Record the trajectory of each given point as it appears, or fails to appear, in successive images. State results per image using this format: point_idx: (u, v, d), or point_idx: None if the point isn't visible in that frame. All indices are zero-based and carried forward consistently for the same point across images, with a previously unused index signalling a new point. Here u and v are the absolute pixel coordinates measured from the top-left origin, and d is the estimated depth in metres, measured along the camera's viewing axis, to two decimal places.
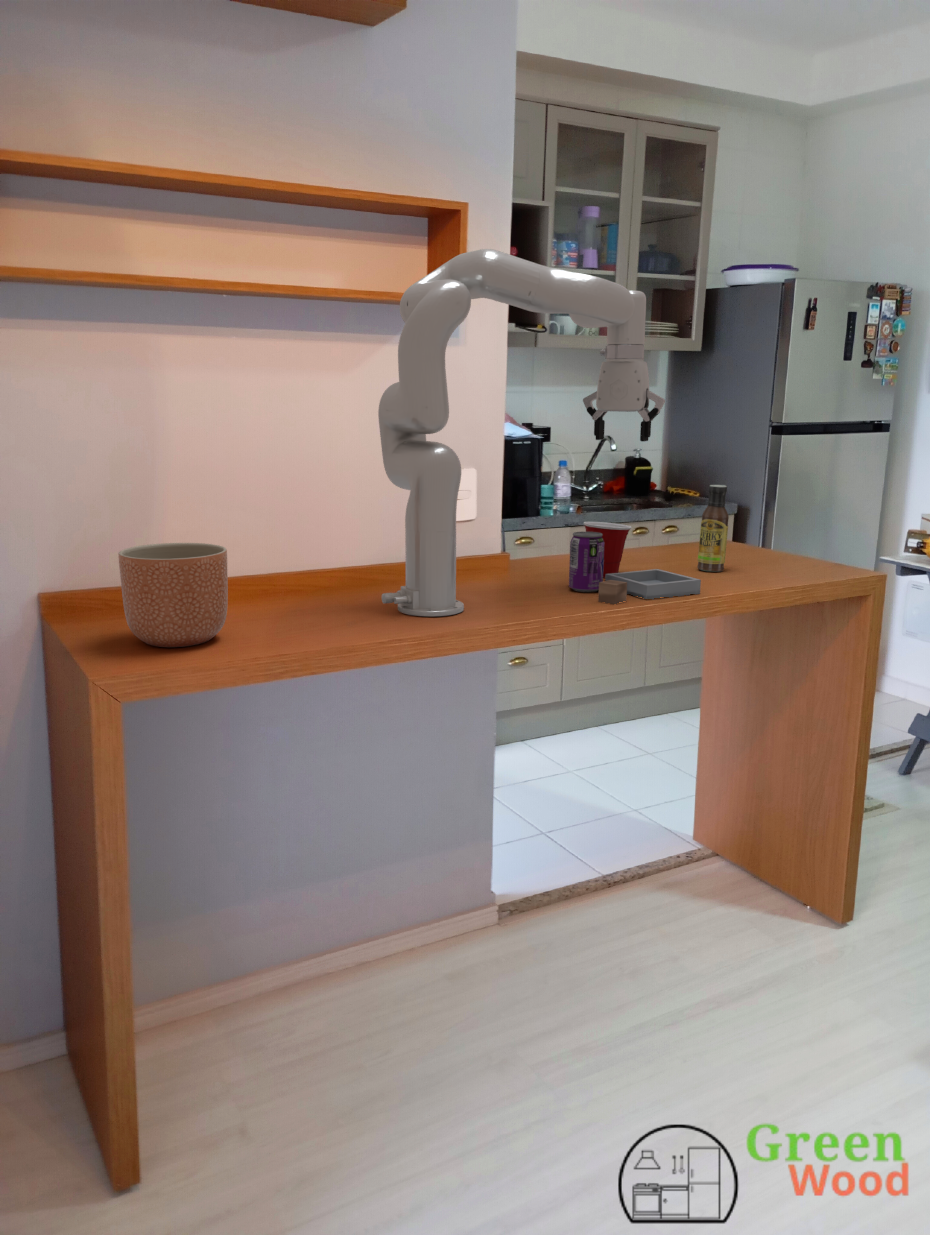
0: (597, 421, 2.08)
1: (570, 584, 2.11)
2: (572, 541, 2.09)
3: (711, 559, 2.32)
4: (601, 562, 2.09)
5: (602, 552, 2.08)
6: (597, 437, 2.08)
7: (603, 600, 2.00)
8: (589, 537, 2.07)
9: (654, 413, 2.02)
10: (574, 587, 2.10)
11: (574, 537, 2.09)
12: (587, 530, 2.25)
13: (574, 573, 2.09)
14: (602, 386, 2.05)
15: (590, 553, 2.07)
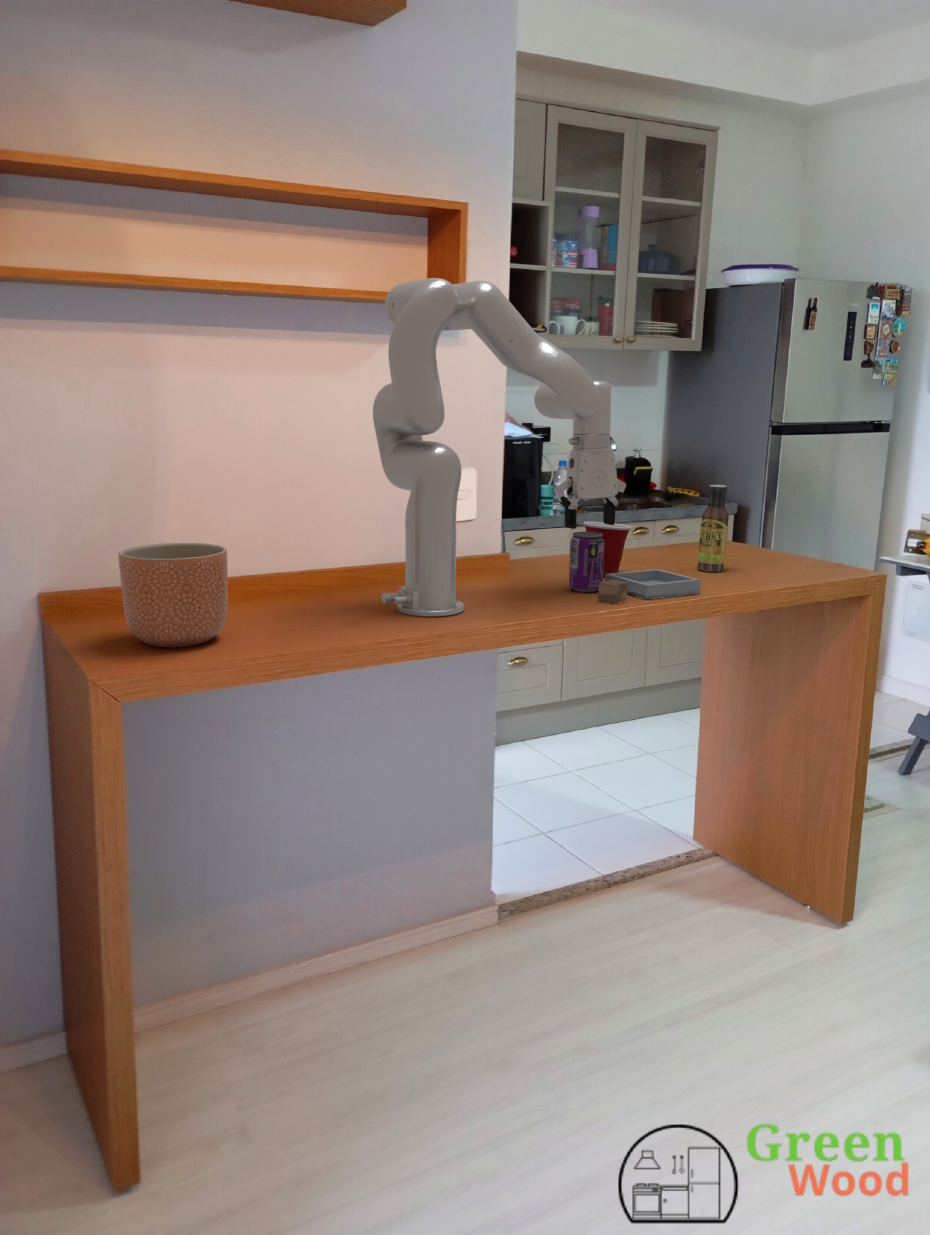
0: (575, 510, 2.05)
1: (570, 584, 2.11)
2: (572, 541, 2.09)
3: (711, 559, 2.32)
4: (601, 562, 2.09)
5: (602, 552, 2.08)
6: (575, 526, 2.06)
7: (603, 600, 2.00)
8: (589, 537, 2.07)
9: (620, 497, 2.11)
10: (574, 587, 2.10)
11: (574, 537, 2.09)
12: (587, 530, 2.25)
13: (574, 573, 2.09)
14: (584, 475, 2.03)
15: (590, 553, 2.07)
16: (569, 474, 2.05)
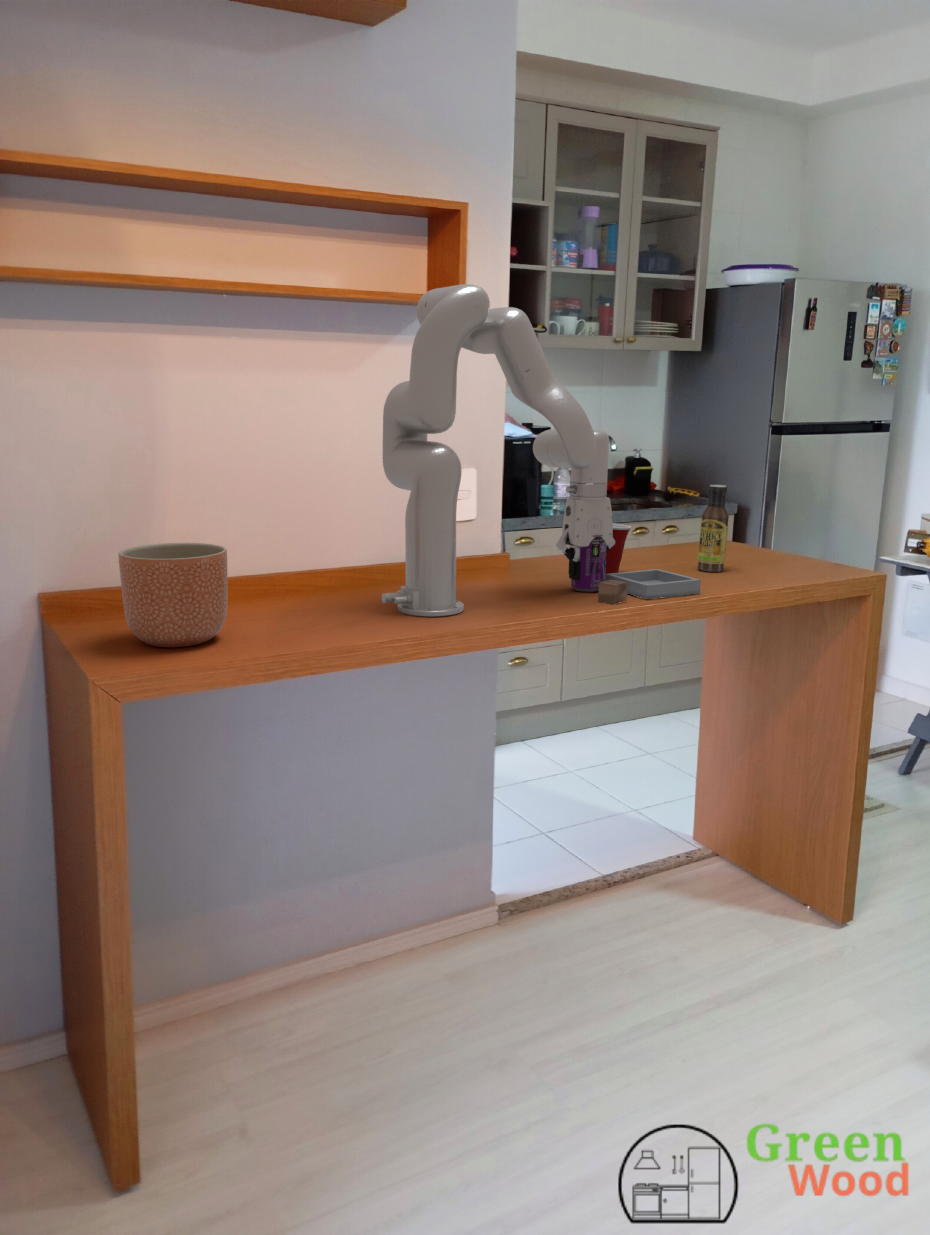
0: (579, 562, 2.08)
1: (572, 584, 2.11)
2: None
3: (711, 559, 2.32)
4: (603, 562, 2.09)
5: (604, 552, 2.08)
6: (579, 578, 2.09)
7: (603, 600, 2.00)
8: None
9: (606, 551, 2.12)
10: (576, 587, 2.10)
11: None
12: None
13: None
14: (580, 524, 2.05)
15: (592, 552, 2.07)
16: (565, 521, 2.07)
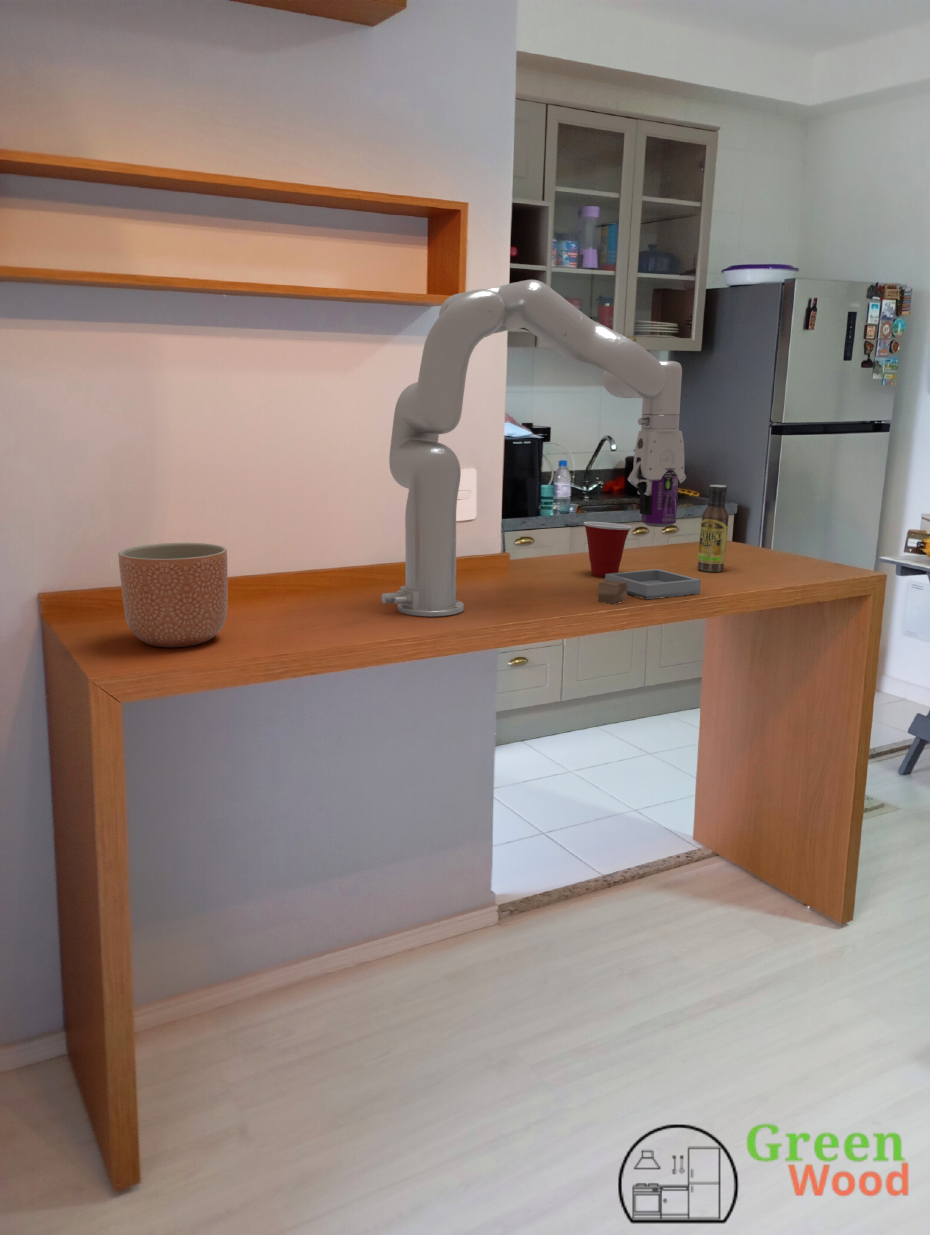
0: (651, 496, 2.05)
1: (643, 519, 2.08)
2: None
3: (711, 559, 2.32)
4: (675, 496, 2.06)
5: (676, 486, 2.05)
6: (650, 512, 2.05)
7: (603, 600, 2.00)
8: None
9: None
10: (647, 522, 2.06)
11: None
12: (587, 530, 2.25)
13: None
14: (652, 456, 2.01)
15: (664, 486, 2.04)
16: (637, 455, 2.03)
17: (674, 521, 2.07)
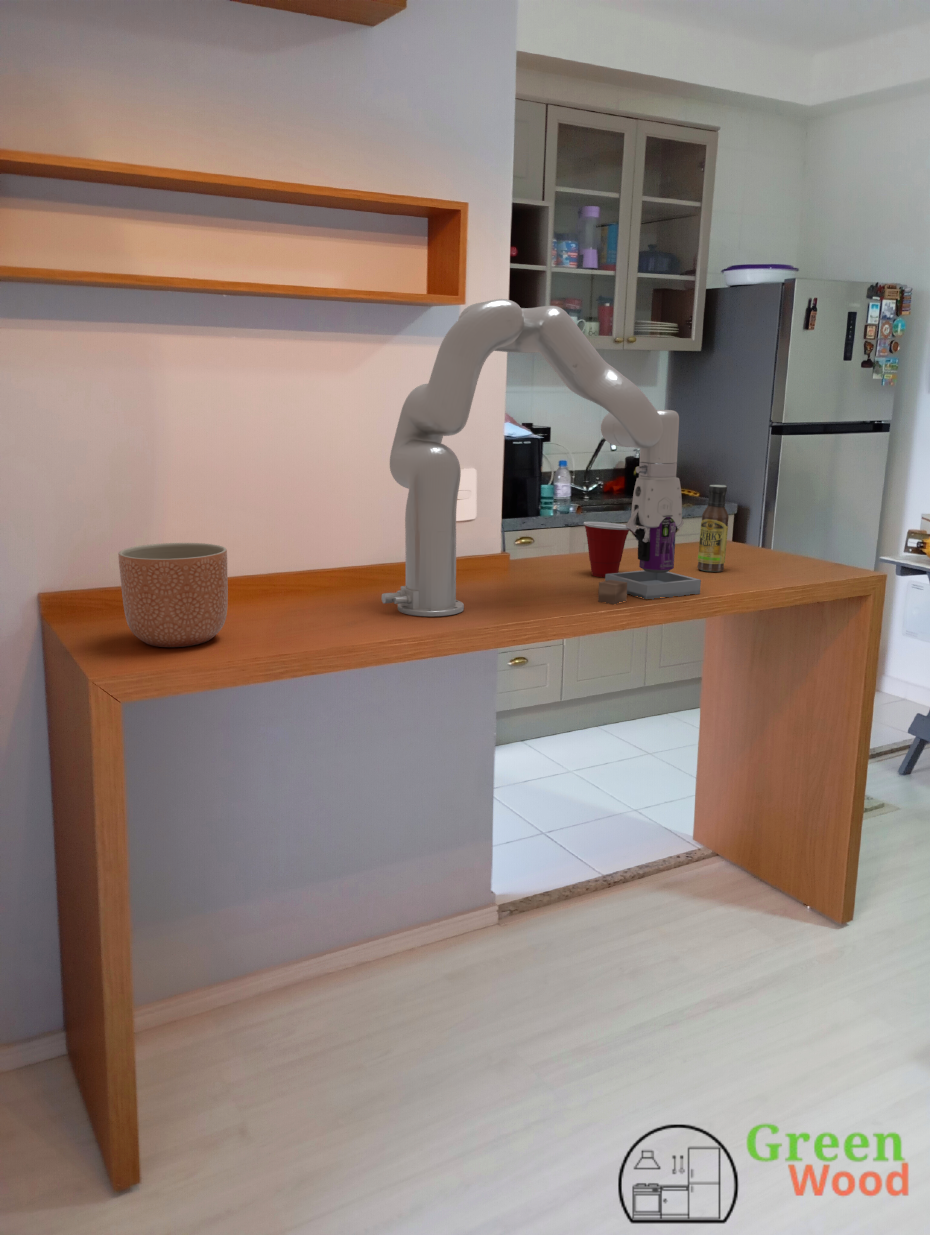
0: (649, 543, 2.07)
1: (641, 565, 2.10)
2: None
3: (711, 559, 2.32)
4: (673, 542, 2.08)
5: (673, 532, 2.07)
6: (648, 558, 2.08)
7: (603, 600, 2.00)
8: None
9: None
10: (645, 567, 2.09)
11: None
12: (587, 530, 2.25)
13: None
14: (650, 504, 2.03)
15: (662, 533, 2.06)
16: (635, 502, 2.06)
17: (672, 567, 2.09)
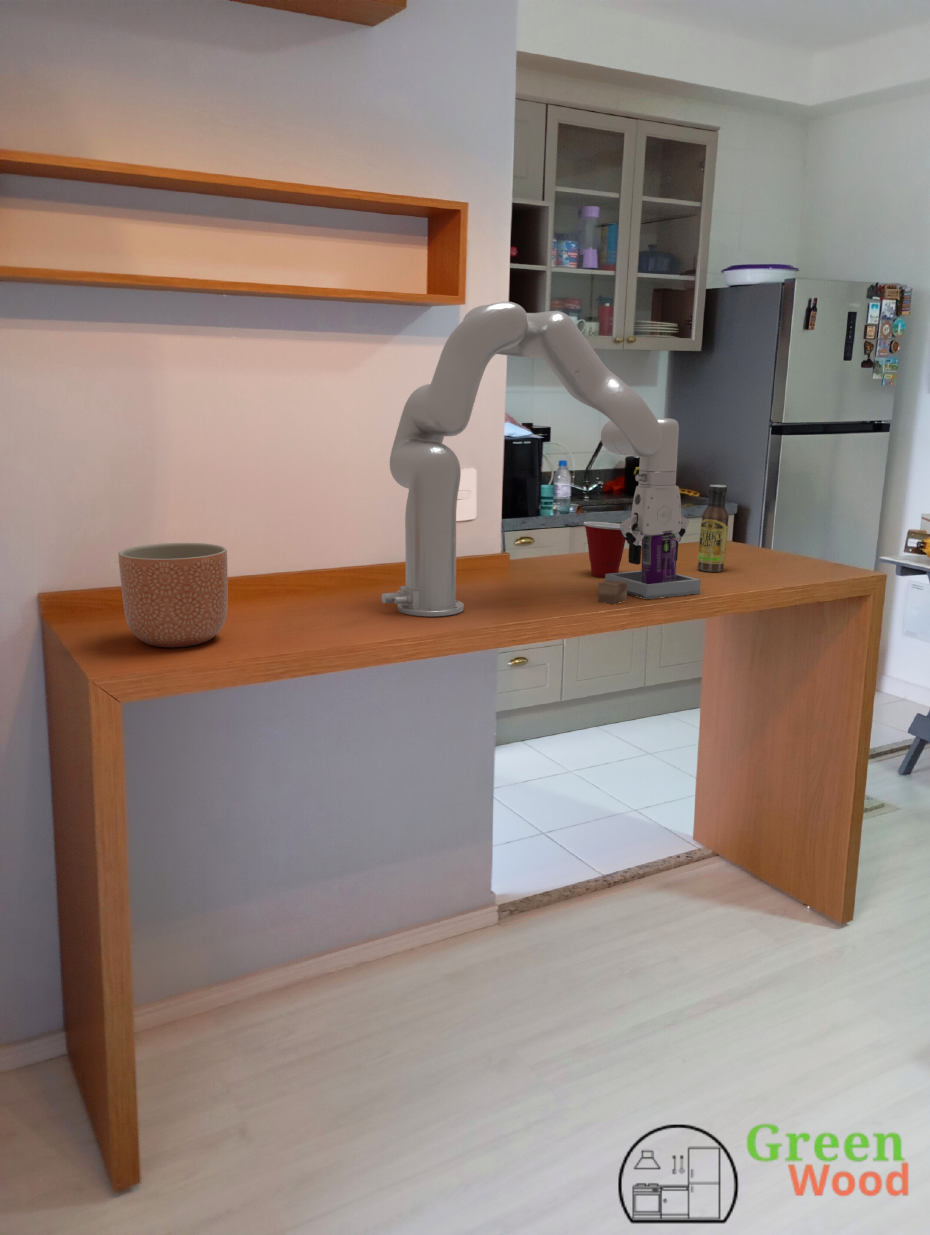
0: (640, 546, 2.06)
1: (643, 580, 2.11)
2: (644, 538, 2.09)
3: (711, 559, 2.32)
4: (674, 557, 2.09)
5: (674, 547, 2.08)
6: (639, 562, 2.07)
7: (603, 600, 2.00)
8: None
9: (683, 533, 2.12)
10: (648, 583, 2.10)
11: None
12: (587, 530, 2.25)
13: (647, 569, 2.09)
14: (650, 512, 2.04)
15: (663, 549, 2.07)
16: (634, 510, 2.06)
17: None
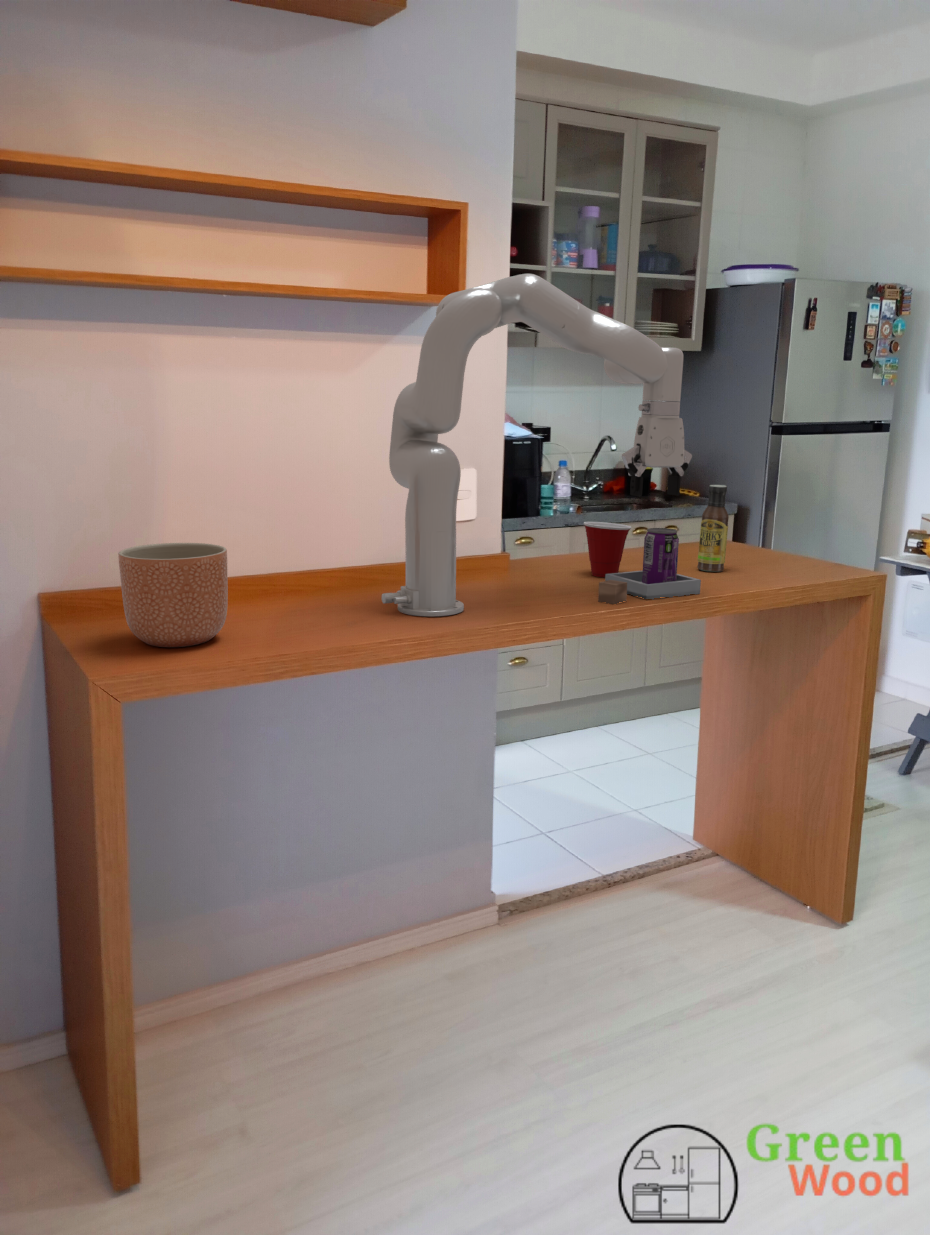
0: (642, 477, 2.03)
1: (644, 580, 2.11)
2: (647, 537, 2.09)
3: (711, 559, 2.32)
4: (676, 558, 2.09)
5: (676, 548, 2.08)
6: (641, 494, 2.03)
7: (603, 600, 2.00)
8: (665, 533, 2.07)
9: (685, 468, 2.08)
10: (648, 583, 2.10)
11: (649, 533, 2.09)
12: (587, 530, 2.25)
13: (648, 569, 2.09)
14: (652, 442, 2.01)
15: (665, 549, 2.07)
16: (637, 441, 2.03)
17: None
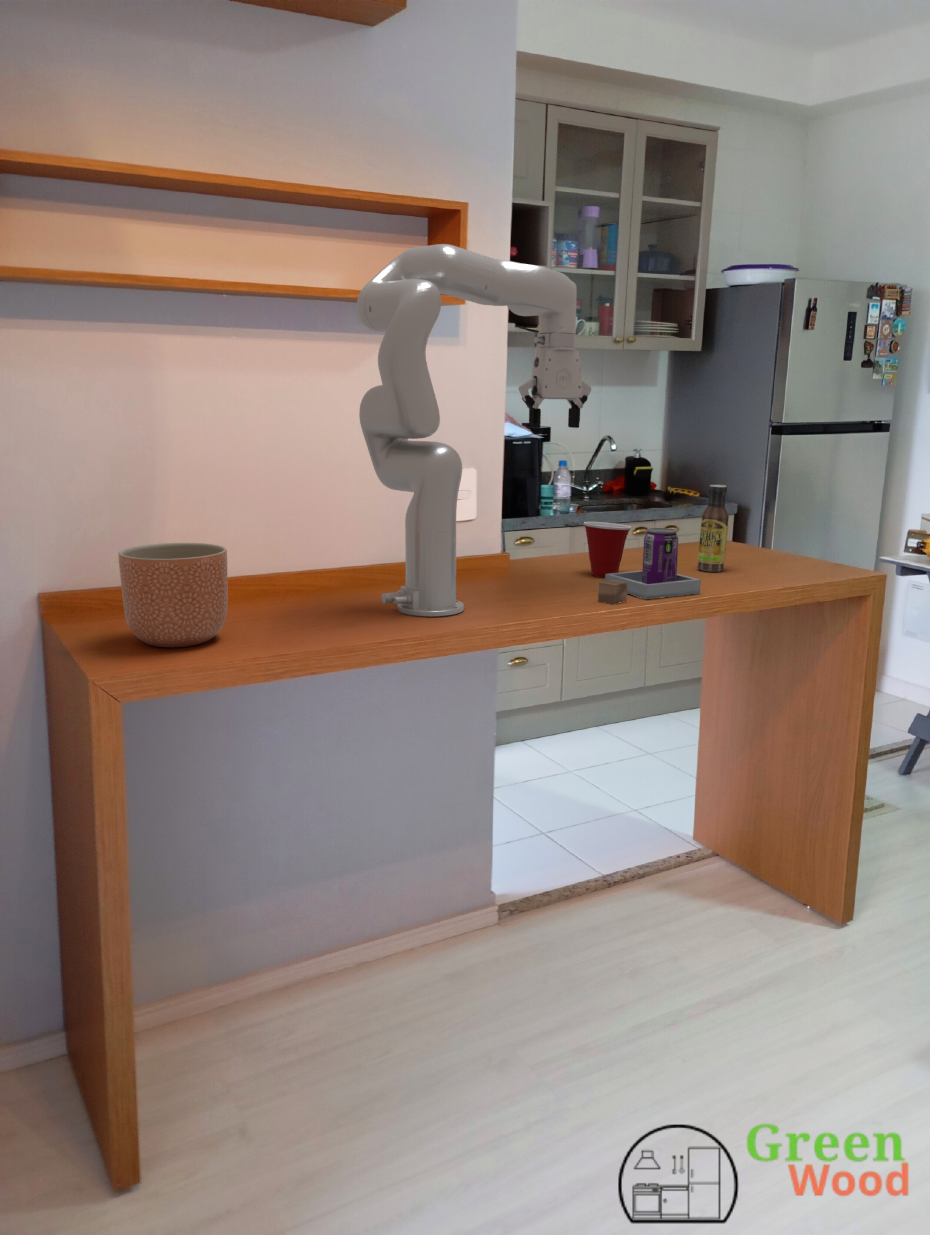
0: (539, 409, 2.06)
1: (644, 580, 2.11)
2: (646, 537, 2.09)
3: (711, 559, 2.32)
4: (675, 558, 2.09)
5: (676, 548, 2.08)
6: (539, 425, 2.07)
7: (603, 600, 2.00)
8: (664, 533, 2.07)
9: (585, 400, 2.12)
10: (648, 583, 2.10)
11: (648, 533, 2.09)
12: (587, 530, 2.25)
13: (648, 569, 2.09)
14: (548, 374, 2.04)
15: (665, 549, 2.07)
16: (534, 373, 2.07)
17: None
